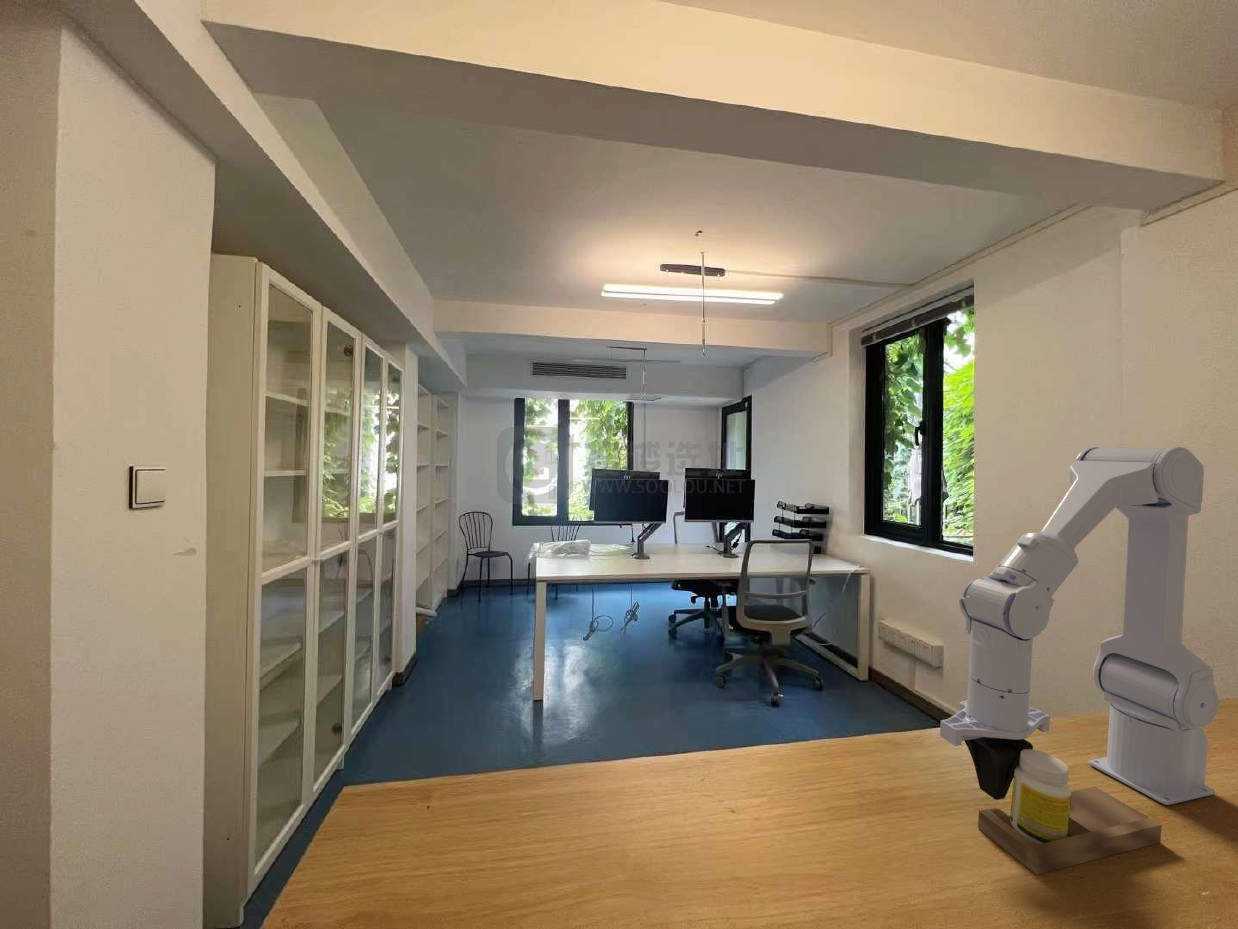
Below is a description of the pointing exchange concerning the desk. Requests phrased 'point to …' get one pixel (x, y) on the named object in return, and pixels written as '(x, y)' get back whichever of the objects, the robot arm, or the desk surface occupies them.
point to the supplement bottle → (1040, 797)
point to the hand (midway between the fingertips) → (991, 793)
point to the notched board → (1078, 833)
